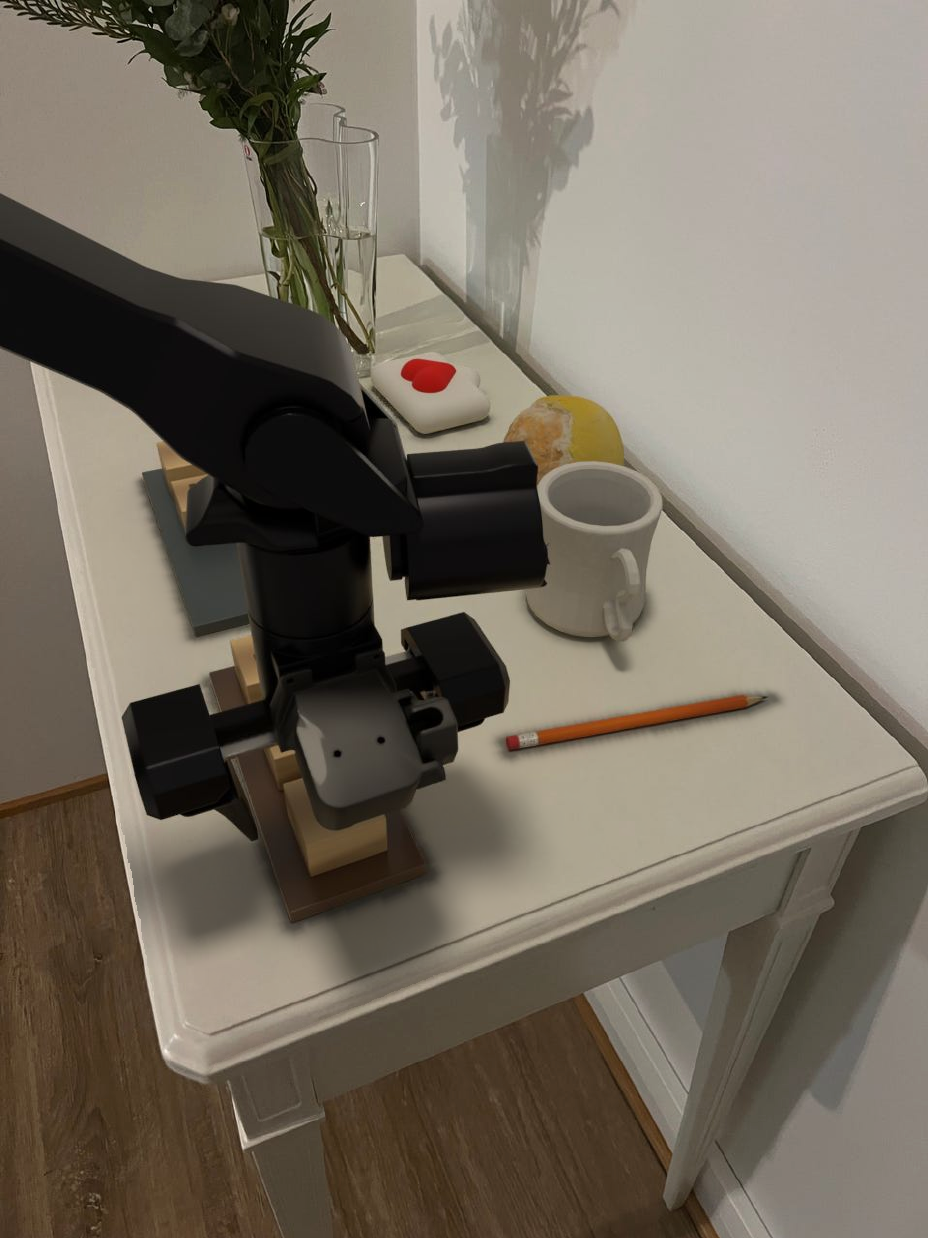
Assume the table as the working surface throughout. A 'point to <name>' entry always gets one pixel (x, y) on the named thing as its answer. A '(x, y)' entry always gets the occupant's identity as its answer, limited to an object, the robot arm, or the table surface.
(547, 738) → the pencil
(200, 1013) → the table surface
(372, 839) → the number block
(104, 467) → the table surface
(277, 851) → the strip
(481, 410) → the icon
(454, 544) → the robot arm
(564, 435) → the fruit
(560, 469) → the mug
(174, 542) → the back word strip
